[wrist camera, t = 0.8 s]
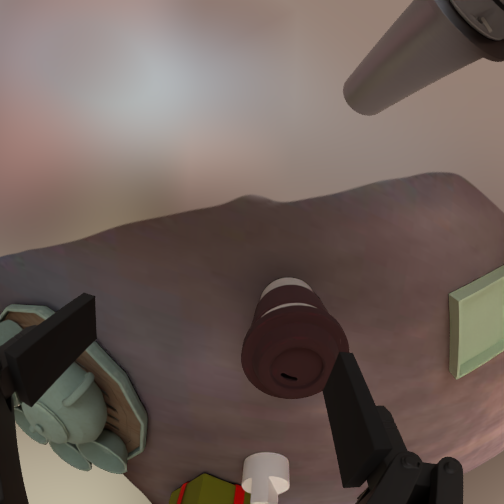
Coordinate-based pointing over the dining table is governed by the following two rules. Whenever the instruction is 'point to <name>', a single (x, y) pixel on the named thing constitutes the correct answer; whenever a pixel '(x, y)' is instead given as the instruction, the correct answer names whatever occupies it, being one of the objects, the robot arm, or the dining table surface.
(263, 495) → the cylinder with rectangular tab
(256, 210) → the dining table surface
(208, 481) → the gift box
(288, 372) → the coffee cup
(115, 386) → the tea set
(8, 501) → the robot arm
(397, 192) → the dining table surface
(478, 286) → the tray
